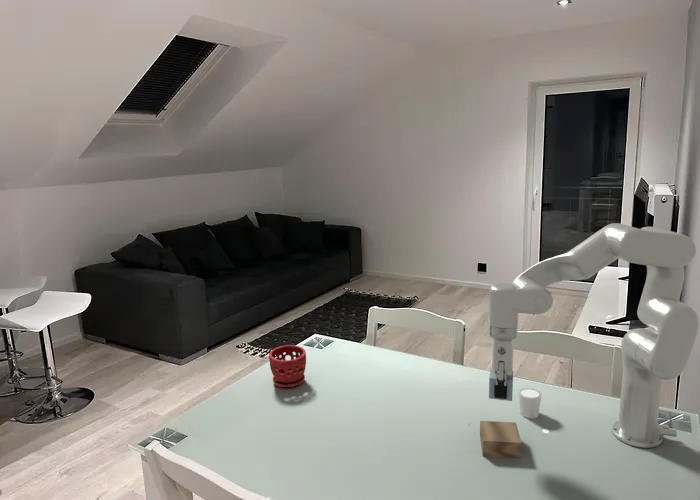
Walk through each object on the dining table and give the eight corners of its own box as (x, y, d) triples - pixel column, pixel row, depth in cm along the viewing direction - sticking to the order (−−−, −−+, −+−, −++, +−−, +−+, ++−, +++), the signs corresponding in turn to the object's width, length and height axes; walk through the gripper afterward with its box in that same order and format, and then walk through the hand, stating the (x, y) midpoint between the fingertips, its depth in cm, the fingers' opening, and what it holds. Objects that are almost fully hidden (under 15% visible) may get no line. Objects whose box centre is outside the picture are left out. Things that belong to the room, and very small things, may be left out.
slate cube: (512, 390, 144) (513, 370, 142) (512, 401, 138) (512, 380, 137) (490, 388, 145) (490, 368, 144) (488, 398, 140) (489, 377, 139)
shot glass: (542, 420, 157) (543, 399, 156) (518, 418, 159) (519, 397, 157) (538, 408, 164) (539, 388, 162) (516, 407, 165) (516, 387, 164)
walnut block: (515, 438, 149) (516, 422, 148) (520, 459, 140) (521, 442, 139) (479, 436, 151) (480, 420, 150) (482, 457, 141) (483, 440, 140)
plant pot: (263, 385, 186) (261, 354, 183) (288, 371, 196) (285, 342, 194) (291, 395, 179) (289, 362, 176) (314, 379, 189) (313, 349, 186)
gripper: (517, 343, 129) (514, 409, 132) (517, 319, 144) (515, 379, 148) (486, 341, 131) (484, 405, 135) (490, 317, 147) (488, 376, 151)
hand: (501, 391), depth 142 cm, fingers closed on slate cube, 6 cm apart
